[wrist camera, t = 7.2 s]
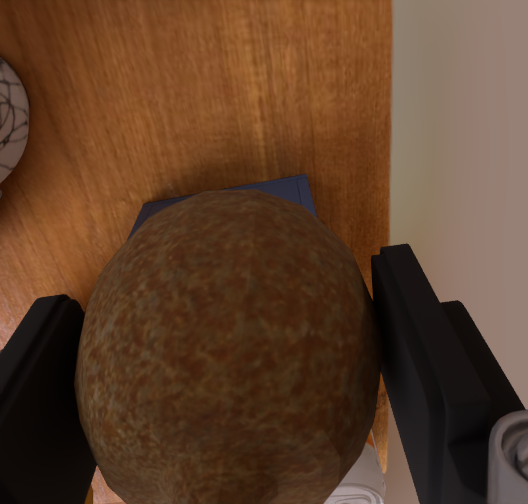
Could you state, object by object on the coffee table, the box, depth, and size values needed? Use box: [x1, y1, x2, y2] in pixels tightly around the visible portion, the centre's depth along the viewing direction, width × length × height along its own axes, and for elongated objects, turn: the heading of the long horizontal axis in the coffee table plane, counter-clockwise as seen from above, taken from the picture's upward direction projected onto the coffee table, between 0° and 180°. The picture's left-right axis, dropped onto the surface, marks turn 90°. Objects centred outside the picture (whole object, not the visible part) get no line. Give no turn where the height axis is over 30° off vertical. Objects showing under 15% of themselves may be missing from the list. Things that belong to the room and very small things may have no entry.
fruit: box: [74, 189, 383, 504], centre depth 10 cm, size 6×6×8 cm
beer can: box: [324, 428, 386, 504], centre depth 37 cm, size 6×6×15 cm
